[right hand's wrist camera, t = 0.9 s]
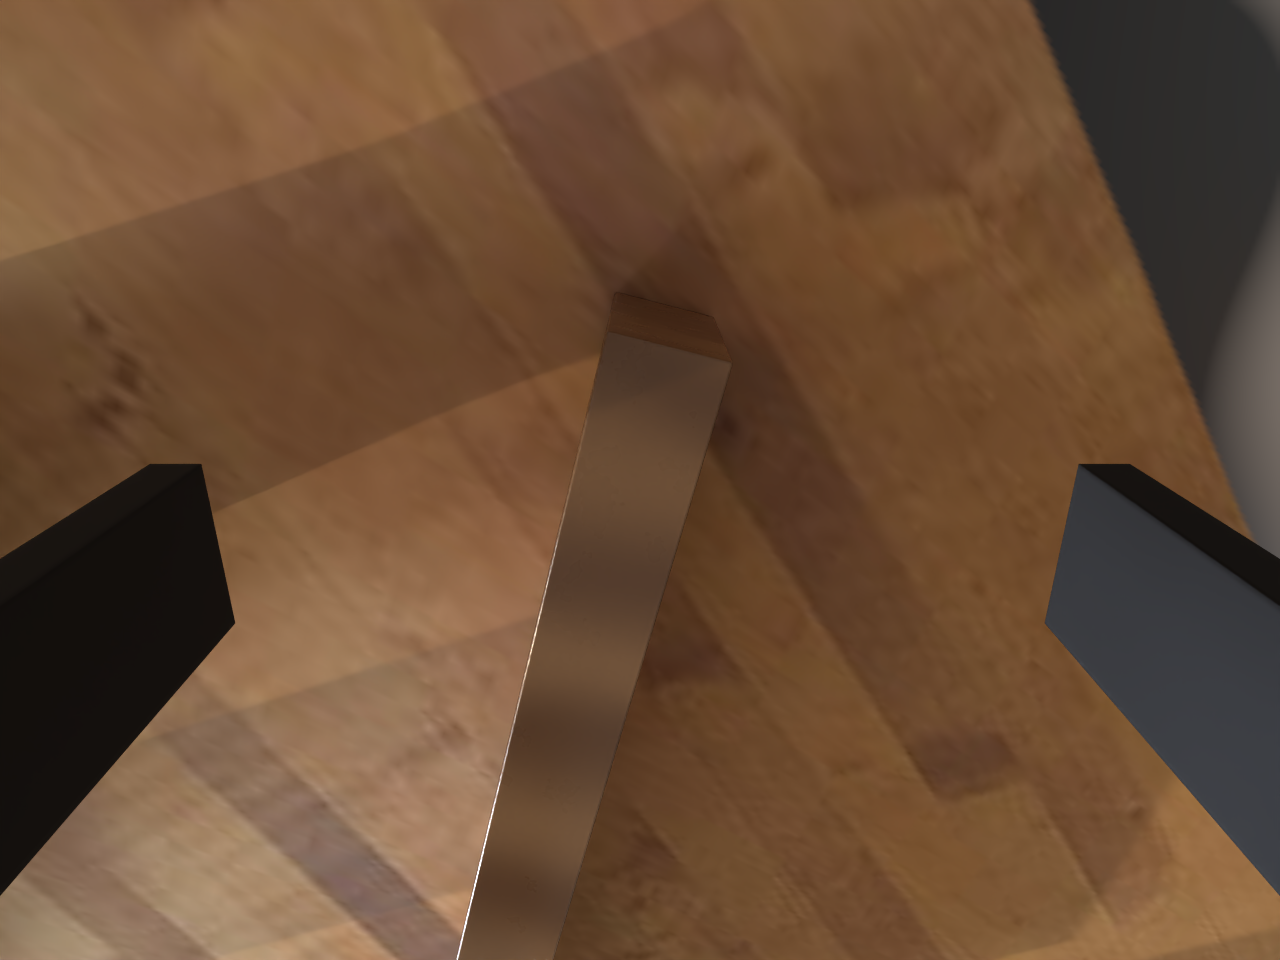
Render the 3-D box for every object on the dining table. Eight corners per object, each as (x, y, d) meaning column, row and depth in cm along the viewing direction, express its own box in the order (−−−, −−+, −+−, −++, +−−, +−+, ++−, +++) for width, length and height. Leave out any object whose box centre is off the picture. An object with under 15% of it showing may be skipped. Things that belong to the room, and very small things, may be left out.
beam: (615, 291, 36) (606, 330, 28) (714, 316, 37) (733, 362, 29) (430, 1065, 56) (394, 1218, 48) (496, 1076, 56) (471, 1230, 48)
